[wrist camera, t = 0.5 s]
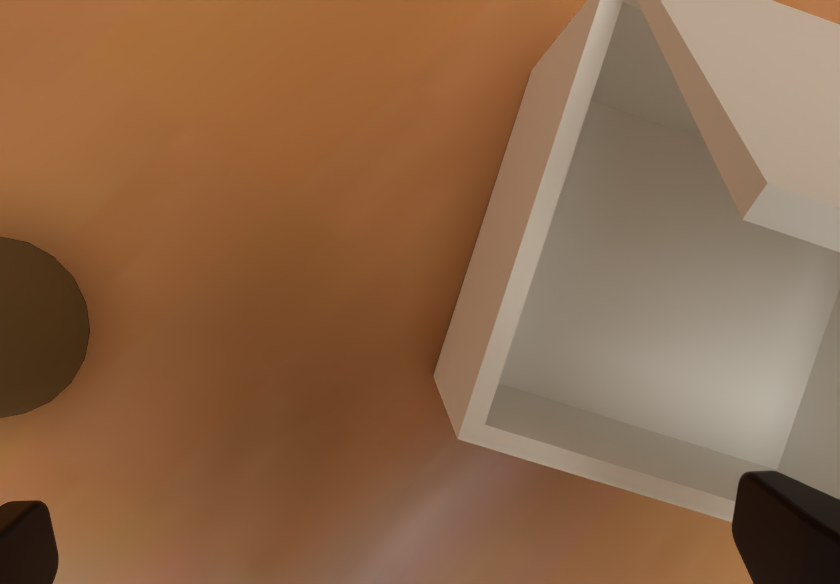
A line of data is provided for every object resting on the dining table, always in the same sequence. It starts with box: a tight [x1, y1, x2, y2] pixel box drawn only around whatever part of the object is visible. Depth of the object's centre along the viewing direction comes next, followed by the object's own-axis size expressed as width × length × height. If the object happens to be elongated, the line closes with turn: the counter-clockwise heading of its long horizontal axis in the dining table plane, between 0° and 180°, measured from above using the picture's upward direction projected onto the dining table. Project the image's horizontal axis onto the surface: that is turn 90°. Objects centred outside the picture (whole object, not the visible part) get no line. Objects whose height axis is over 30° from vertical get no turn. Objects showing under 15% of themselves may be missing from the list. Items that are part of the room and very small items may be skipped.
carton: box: [433, 0, 840, 522], centre depth 20 cm, size 11×13×8 cm
